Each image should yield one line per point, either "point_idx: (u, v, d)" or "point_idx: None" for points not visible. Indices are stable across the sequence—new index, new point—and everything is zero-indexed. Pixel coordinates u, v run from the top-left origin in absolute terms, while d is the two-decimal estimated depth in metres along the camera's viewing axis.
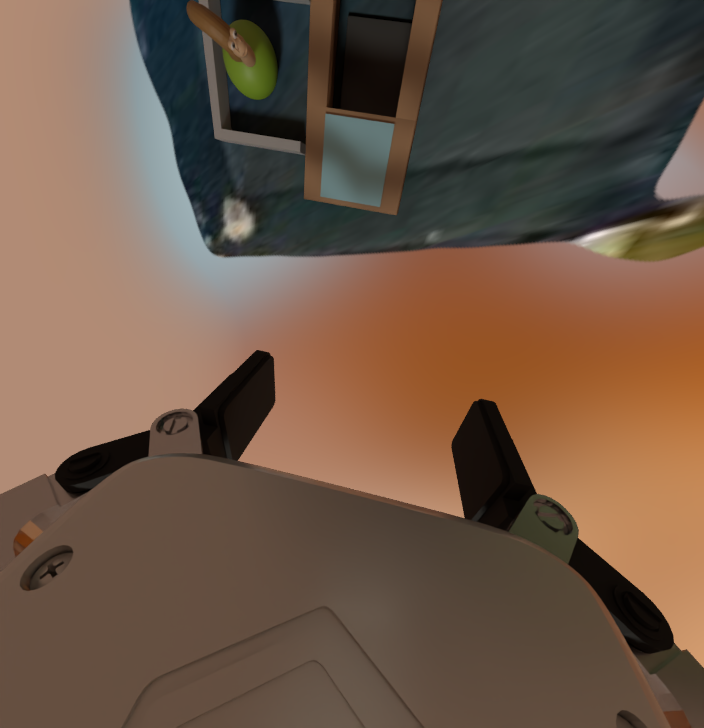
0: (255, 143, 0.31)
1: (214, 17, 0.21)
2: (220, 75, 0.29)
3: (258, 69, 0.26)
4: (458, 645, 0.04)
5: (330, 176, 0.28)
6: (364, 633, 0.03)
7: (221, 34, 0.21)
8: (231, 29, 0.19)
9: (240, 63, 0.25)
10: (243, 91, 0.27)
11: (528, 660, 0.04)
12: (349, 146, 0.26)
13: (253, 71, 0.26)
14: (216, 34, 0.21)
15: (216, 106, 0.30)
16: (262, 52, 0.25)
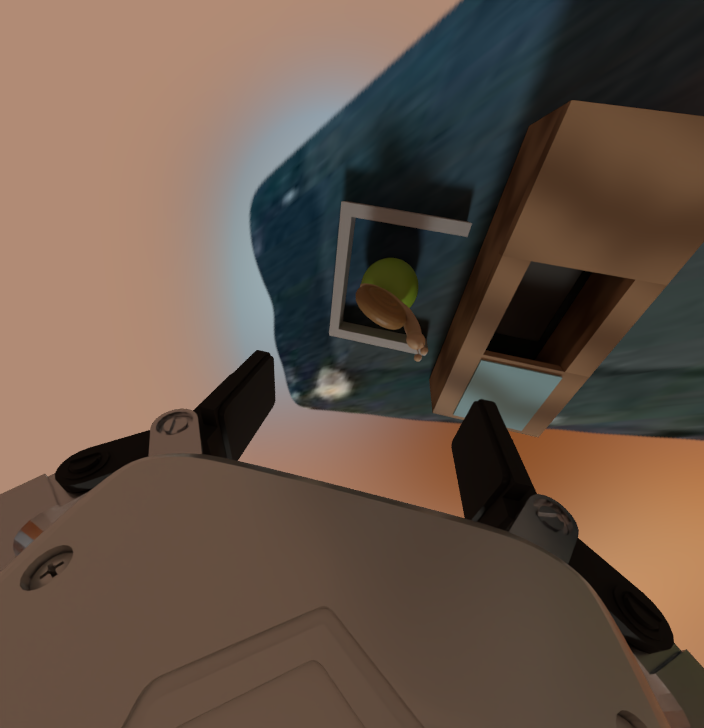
0: (374, 343, 0.28)
1: (391, 314, 0.18)
2: (345, 284, 0.26)
3: None
4: (458, 645, 0.04)
5: (470, 403, 0.25)
6: (364, 633, 0.03)
7: (395, 326, 0.19)
8: (424, 351, 0.17)
9: None
10: None
11: (528, 660, 0.04)
12: (500, 386, 0.24)
13: None
14: (390, 327, 0.19)
15: (337, 312, 0.27)
16: (411, 294, 0.23)
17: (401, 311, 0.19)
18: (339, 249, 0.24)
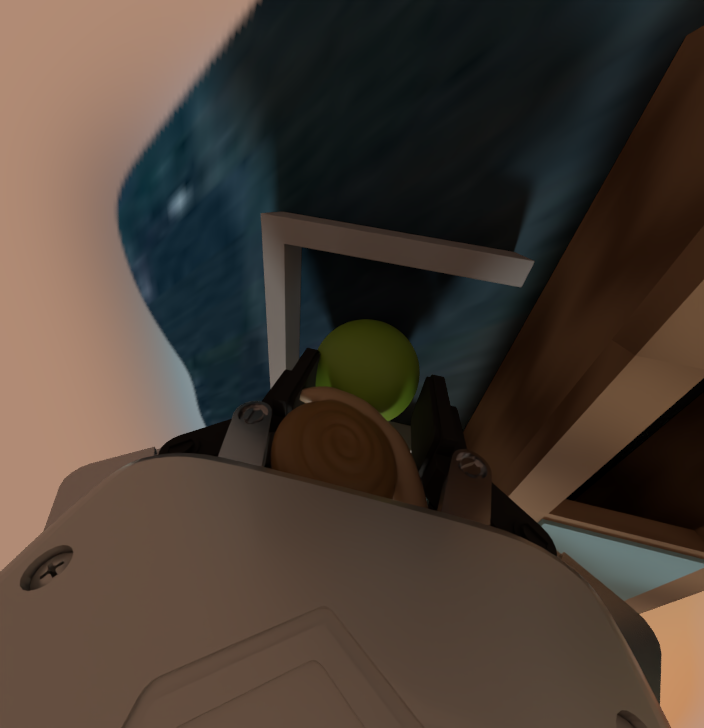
0: None
1: None
2: (291, 354, 0.15)
3: (392, 417, 0.12)
4: (458, 645, 0.04)
5: None
6: (364, 633, 0.03)
7: None
8: None
9: None
10: None
11: (528, 660, 0.04)
12: (576, 558, 0.13)
13: None
14: None
15: None
16: (407, 396, 0.11)
17: (383, 475, 0.08)
18: (270, 303, 0.13)
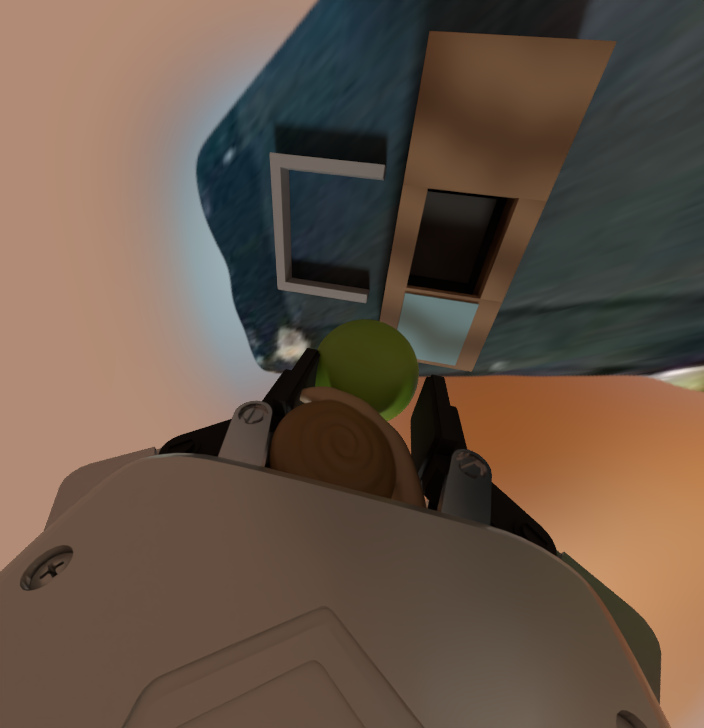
0: (319, 294, 0.30)
1: None
2: (286, 237, 0.29)
3: (391, 417, 0.12)
4: (458, 645, 0.04)
5: None
6: (363, 634, 0.03)
7: None
8: None
9: None
10: None
11: (528, 660, 0.04)
12: (427, 319, 0.26)
13: None
14: None
15: (281, 264, 0.29)
16: (406, 396, 0.11)
17: (382, 475, 0.08)
18: (274, 200, 0.26)
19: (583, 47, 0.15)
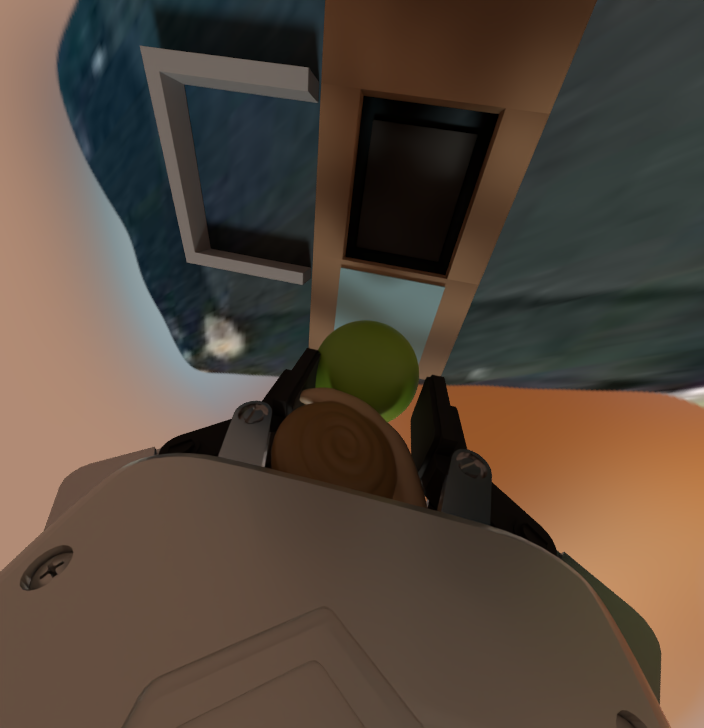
0: (241, 271, 0.23)
1: None
2: (190, 188, 0.21)
3: (392, 418, 0.12)
4: (458, 645, 0.04)
5: None
6: (364, 632, 0.03)
7: None
8: None
9: None
10: None
11: (528, 660, 0.04)
12: (374, 307, 0.18)
13: None
14: None
15: (186, 227, 0.21)
16: (407, 397, 0.11)
17: (383, 476, 0.08)
18: (160, 128, 0.18)
19: None
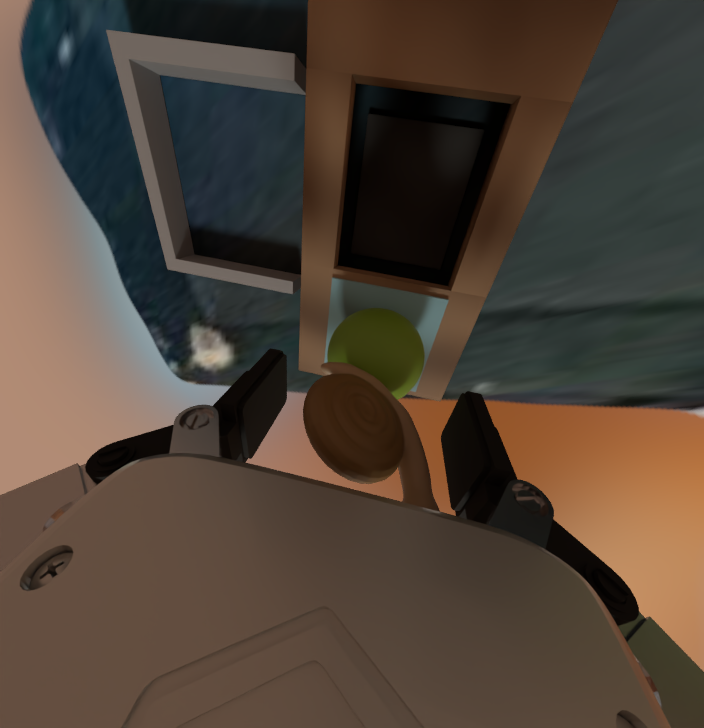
0: (226, 279, 0.21)
1: (375, 461, 0.08)
2: (169, 189, 0.19)
3: (397, 398, 0.13)
4: (458, 645, 0.04)
5: None
6: (363, 633, 0.03)
7: (381, 480, 0.09)
8: None
9: None
10: None
11: (528, 660, 0.04)
12: None
13: None
14: None
15: (165, 232, 0.20)
16: (413, 379, 0.13)
17: (395, 439, 0.10)
18: (133, 123, 0.16)
19: None
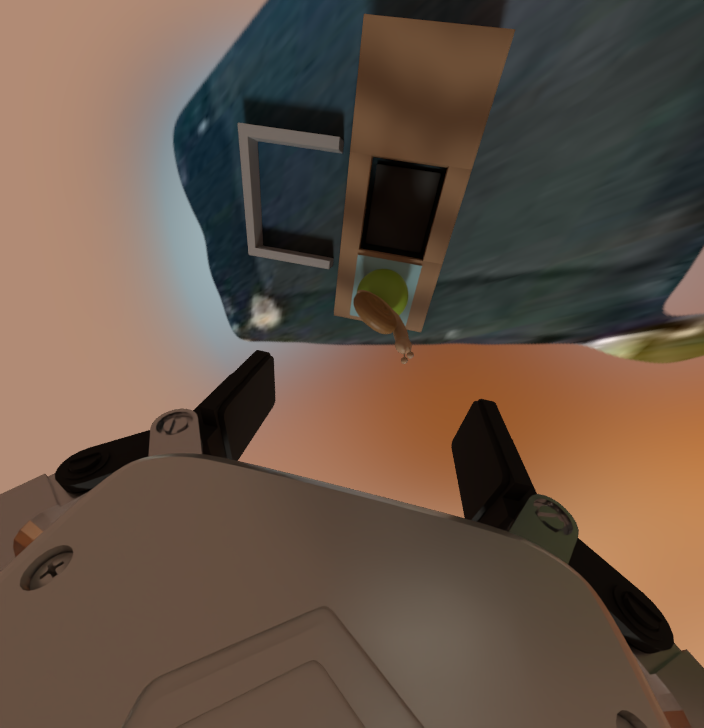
0: (286, 260, 0.33)
1: (384, 320, 0.20)
2: (256, 205, 0.31)
3: None
4: (458, 645, 0.04)
5: None
6: (364, 633, 0.03)
7: (386, 331, 0.21)
8: (410, 355, 0.19)
9: None
10: None
11: (528, 660, 0.04)
12: None
13: None
14: (382, 331, 0.21)
15: (251, 230, 0.32)
16: (402, 304, 0.25)
17: (392, 318, 0.22)
18: (243, 168, 0.29)
19: (489, 33, 0.18)
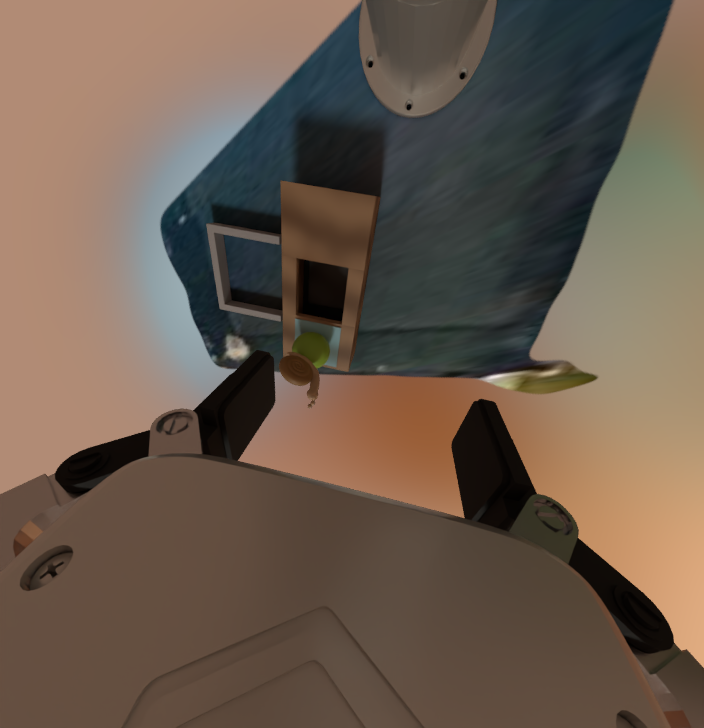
0: (248, 314, 0.43)
1: (298, 378, 0.31)
2: (223, 274, 0.41)
3: (317, 366, 0.36)
4: (458, 645, 0.04)
5: None
6: (364, 633, 0.03)
7: (301, 384, 0.31)
8: (312, 403, 0.29)
9: None
10: None
11: (528, 660, 0.04)
12: None
13: None
14: (298, 385, 0.31)
15: (221, 292, 0.42)
16: (322, 358, 0.35)
17: (307, 374, 0.32)
18: (212, 252, 0.38)
19: (360, 197, 0.28)
